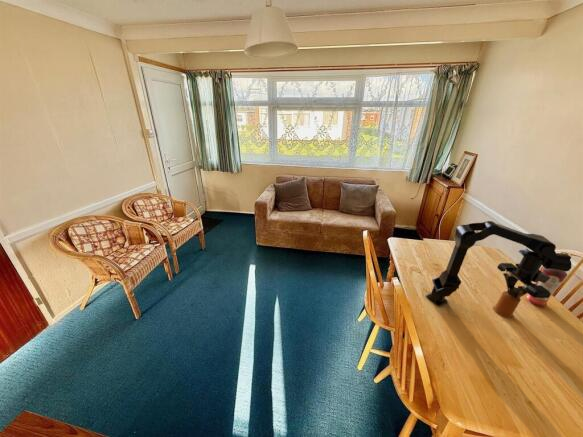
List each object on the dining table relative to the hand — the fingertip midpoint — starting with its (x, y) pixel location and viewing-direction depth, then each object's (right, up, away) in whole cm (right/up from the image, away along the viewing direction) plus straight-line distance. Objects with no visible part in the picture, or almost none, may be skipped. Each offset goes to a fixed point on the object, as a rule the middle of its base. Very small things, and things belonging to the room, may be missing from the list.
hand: (513, 294), depth 99 cm
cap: (0, +2, -1) cm, 2 cm away
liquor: (+20, -7, +10) cm, 23 cm away
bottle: (0, -10, +5) cm, 11 cm away
